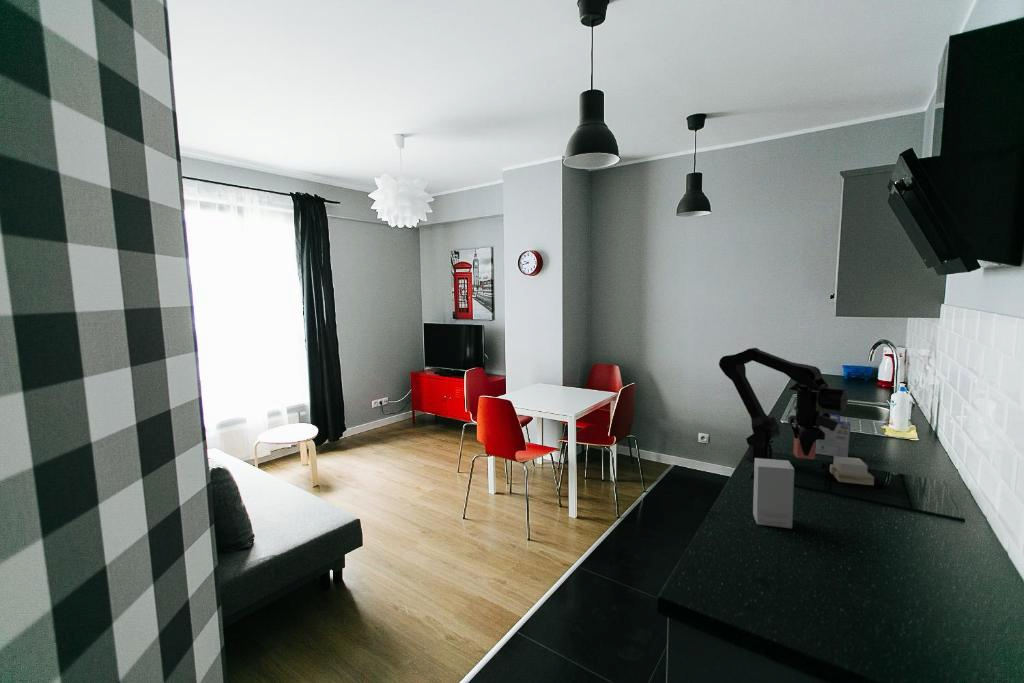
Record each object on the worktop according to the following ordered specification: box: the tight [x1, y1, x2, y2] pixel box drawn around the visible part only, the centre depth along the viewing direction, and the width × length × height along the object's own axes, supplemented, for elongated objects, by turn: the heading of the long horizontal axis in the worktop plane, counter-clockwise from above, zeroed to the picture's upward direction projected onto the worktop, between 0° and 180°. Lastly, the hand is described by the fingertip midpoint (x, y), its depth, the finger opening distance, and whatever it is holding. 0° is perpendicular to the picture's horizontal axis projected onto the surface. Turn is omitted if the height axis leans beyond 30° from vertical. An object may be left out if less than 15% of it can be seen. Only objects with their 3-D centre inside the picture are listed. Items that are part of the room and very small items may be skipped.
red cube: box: [792, 437, 816, 460], centre depth 152 cm, size 5×5×5 cm
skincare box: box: [752, 458, 796, 529], centre depth 119 cm, size 8×7×16 cm
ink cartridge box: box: [815, 413, 851, 457], centre depth 169 cm, size 10×6×14 cm, turn 55°
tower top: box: [832, 456, 868, 475], centre depth 148 cm, size 7×7×3 cm
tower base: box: [829, 463, 875, 486], centre depth 148 cm, size 9×9×3 cm
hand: (803, 452), depth 152 cm, fingers closed on red cube, 5 cm apart
